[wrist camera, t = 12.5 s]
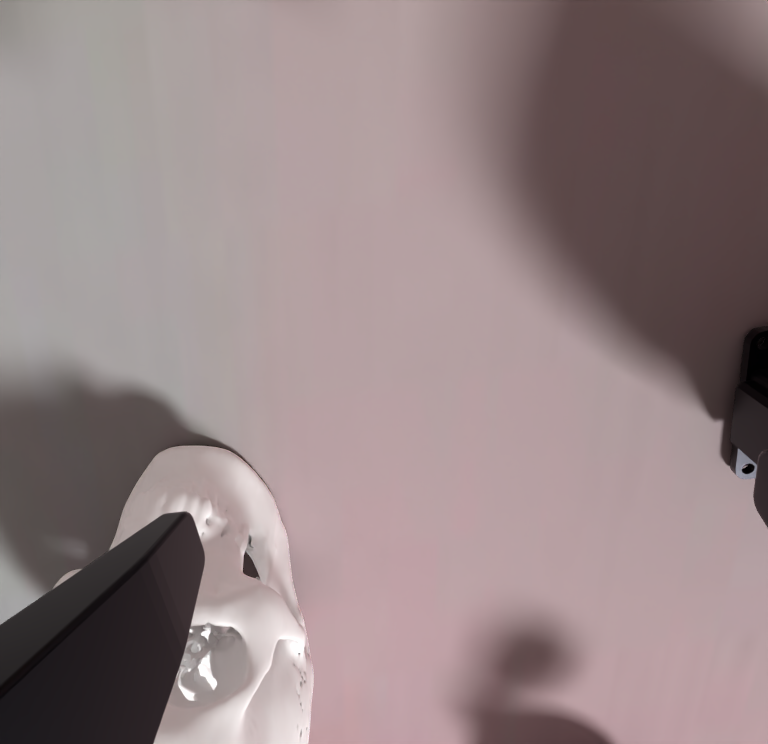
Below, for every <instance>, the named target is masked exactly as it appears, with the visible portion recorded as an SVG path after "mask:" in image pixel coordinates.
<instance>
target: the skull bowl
mask: <svg viewBox="0 0 768 744" xmlns="http://www.w3.org/2000/svg"><path fill="white" fill-rule="evenodd" d="M182 511H187V512H189V513H190V514H191V515H192V516H193V519H194V521H195V524H196V527H197V530H198V533H199V536H200V539H201V542H202V545H203V549H204V553H205V565H204V570H203V575H202V579H201V583H200V588H199V592H198V596H197V601H196V605H195V610H194V614H193V618H192V623H191V627H190V631H189V636H188V640H187V644H186V648H185V651H184V655H183V658H182V661H181V664H180V668H179V671H178V673H177V676H176V679H175V682H174V685H173V688H172V691H171V694H170V697H169V700H168V703H167V705H166V708H165V711H164V714H163V717H162V720H161V723H160V726H159V729H158V732H157V735H156V737H155V740H154V743H153V744H308V741H309V731H310V720H311V702H312V694H313V684H314V671H313V665H312V660H311V655H310V649H309V642H308V637H307V632H306V628H305V623H304V618H303V615H302V612H301V609H300V607H299V605H298V601H297V596H296V592H295V588H294V584H293V578H292V571H291V564H290V554H289V544H288V537H287V533H286V530H285V527H284V525H283V523H282V521H281V518H280V515H279V512H278V509H277V506H276V503H275V500H274V498H273V496H272V494H271V492H270V491H269V489H268V487H267V486H266V484H265V483H264V482H263V481H262V479H261V478H260V477H259V476H258V474H257V473H256V472H255V471H254V470H253V469H252V468H251V467H250V466H249V465H248V464H247V463H246V462H245V461H244V460H243V459H241V458H240V457H238V456H237V455H236V454H234V453H232V452H231V451H229V450H226V449H223V448H218V447H212V446H176V447H171V448H168V449H166V450H164V451H162V452H160V453H158V454H157V455H156V456H155V457H154V458H153V460H152V461H151V463H150V464H149V465H148V467H147V468H146V470H145V471H144V472H143V474H142V476H141V477H140V478H139V480H138V482H137V483H136V485H135V487H134V488H133V490H132V492H131V494H130V496H129V498H128V500H127V502H126V504H125V506H124V509H123V511H122V515H121V518H120V522H119V525H118V528H117V532H116V535H115V537H114V540H113V542H112V544H111V547H110V549H109V551H110V550H111V549H112V548H114V547H115V546H117V545H118V544H120V543H121V542H123V541H124V540H126V539H127V538H129V537H130V536H132V535H133V534H135V533H136V532H137V531H139V530H140V529H142V528H143V527H145V526H146V525H148V524H149V523H151V522H152V521H154V520H155V519H157V518H158V517H159V516H161V515H163V514H165V513H173V512H182ZM245 551H246V552H247V553H248V555H249V556H250V557H251V559H252V560H253V563H254V565H255V567H256V569H257V572H258V574H259V577H260V579H259V577H258V576H257V577H256V579H255V578H252V577H249V576H247V575H245V574H244V573H243V557H244V553H245ZM80 570H82V569H77V570H73V571H70V572H68V573H66V574H65V575H64V576H63V577H62V578H61V579H60V580H59V581H58V582H57V583H56V585H55V586H54V587H53V589H54V588H55V587H57V586H58V585H60V584H61V583H63V582H64V581H66V580H67V579H68V578H70V577H71V576H73V575H74V574H76V573H77V572H79V571H80Z"/></svg>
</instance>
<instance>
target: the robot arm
mask: <svg viewBox="0 0 768 744" xmlns="http://www.w3.org/2000/svg"><path fill="white" fill-rule="evenodd" d="M763 337H764V338H765V340H764V342H763V343H762V344H761V345H759V346H757V343H758V341H759V340H760V339H761V338H763ZM730 441H731V442H732V443H733V444H732V453H731V462H730V468H731V470H732V471H733V472H734V473H735V474H736V475H737V476H738V477H739V478H741V479H753V478H755V486H754V495H753V497H754V503H755V506H756V509H757V511H758V513H759V514H760V516H761V518H762V519H763V521H764V523H765V524H766V526H767V527H768V326H766V327H759V328H755V329H753V330H751V331H750V332H749V333H748V334H747V335H746V337H745V340H744V345H743V354H742V363H741V372H740V381H739V384H738V385H737V387H736V391H735V400H734V409H733V418H732V427H731V437H730ZM746 464H748V466H747V467H746V468H743V466H744V465H746ZM742 468H743V469H742ZM204 565H205V553H204V549H203V545H202V542H201V539H200V536H199V533H198V530H197V527H196V524H195V521H194V519H193V516H192V515H191V514H190V513H189V512H187V511H182V512H173V513H165V514H163V515H161V516H159V517H158V518H157V519H155V520H154V521H152V522H151V523H149V524H148V525H146V526H145V527H143V528H142V529H140V530H139V531H137V532H136V533H135V534H133V535H132V536H130V537H129V538H127V539H126V540H124V541H123V542H121V543H120V544H118V545H117V546H115V547H114V548H112V549H111V550H110V551H108V552H107V553H105V554H104V555H102V556H101V557H99V558H98V559H96V560H95V561H93V562H92V563H90V564H89V565H88V566H86V567H85V568H83V569H82V570H80V571H79V572H77V573H76V574H74V575H73V576H71V577H70V578H68V579H67V580H66V581H64V582H63V583H61V584H60V585H58V586H57V587H55V588H54V589H52V590H51V591H49V592H48V593H46V594H45V595H44V596H42V597H41V598H39V599H38V600H36V601H35V602H33V603H32V604H30V605H29V606H27V607H26V608H24V609H23V610H22V611H20V612H19V613H17V614H16V615H14V616H13V617H11V618H10V619H8V620H7V621H5V622H4V623H2V624H1V625H0V744H153V743H154V740H155V737H156V735H157V732H158V729H159V726H160V723H161V720H162V717H163V714H164V711H165V708H166V705H167V703H168V700H169V697H170V694H171V691H172V688H173V685H174V682H175V679H176V676H177V673H178V671H179V668H180V664H181V661H182V658H183V655H184V651H185V648H186V644H187V640H188V636H189V631H190V627H191V623H192V618H193V614H194V610H195V605H196V601H197V596H198V592H199V588H200V583H201V579H202V575H203V570H204Z"/></svg>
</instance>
